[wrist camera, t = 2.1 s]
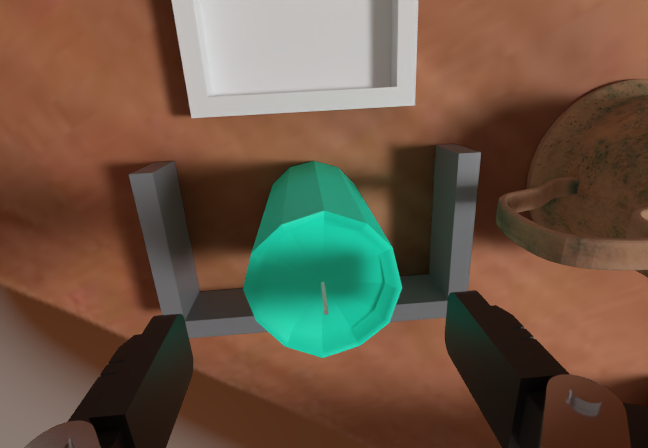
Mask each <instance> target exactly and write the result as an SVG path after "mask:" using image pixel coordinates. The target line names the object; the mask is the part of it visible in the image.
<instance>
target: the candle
mask: <svg viewBox="0 0 648 448" xmlns="http://www.w3.org/2000/svg"><path fill="white" fill-rule="evenodd" d="M401 290H402V284H401V280H400V276H399V272H398V268H397V263H396V259H395V255H394V251H393V247H392V246H391V244H390V242H389V241H388V239H387V237H386V236H385V234H384V232H383V231H382V229H381V227H380V226H379V224H378V222H377V221H376V219H375V217H374V216H373V214H372V212H371V211H370V209H369V207H368V206H367V204H366V202H365V201H364V199H363V198H362V196H361V194H360V193H359V191H358V189H357V188H356V186H355V184H354V183H353V182H352V181H351V180H350V179H349V178H348V177H347V176H346V175H345V174H344V173H343V172H342V171H341V170H340V169H339V168H338V167H335V166H331V165H328V164H324V163H320V162H316V161H312V162H308V163H304V164H300V165H296V166H293V167H290V168H289V169H288V170H287V171H286V172H285V173H284V174H283V175H282V176H281V177H280V178H279V179H278V180H277V181H276V182H275V183H274V184H273V185H272V188H271V191H270V194H269V198H268V201H267V204H266V207H265V211H264V214H263V217H262V220H261V224H260V227H259V230H258V233H257V236H256V240H255V243H254V246H253V249H252V253H251V257H250V261H249V265H248V269H247V274H246V278H245V282H244V286H243V291H244V293H245V296H246V298H247V300H248V303H249V305H250V308H251V310H252V312H253V315H254V317H255V320H256V321H257V322H258V323H259V324H260V325H261V326H262V327H263V328H265V329H266V330H267V331H268V332H269V333H270V334H271V335H273V336H274V337H275V338H276V339H277V340H278V341H279V342H281V343H282V344H283V345H284V346H286V347H289V348H292V349H295V350H299V351H302V352H305V353H308V354H312V355H315V356H318V357H321V358H324V357H327V356H330V355H333V354H336V353H339V352H342V351H345V350H348V349H352V348H355V347H358V346H360V345H362V344H363V343H364V342H365V341H367V340H368V339H369V338H370V337H372V336H373V335H374V334H376V333H377V332H378V331H379V330H381V329H382V328H383V327H385V326H386V325H387V324H388V323H389V322H390V320H391V317H392V314H393V311H394V309H395V306H396V303H397V301H398V298H399V295H400V292H401Z"/></svg>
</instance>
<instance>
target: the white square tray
mask: <svg viewBox="0 0 648 448" xmlns="http://www.w3.org/2000/svg"><path fill="white" fill-rule="evenodd" d="M171 1H172V6H173V12H174V18H175V24H176V30H177V36H178V42H179V48H180V53H181V59H182V65H183V71H184V77H185V83H186V89H187V95H188V100H189V106H190V112H191V118H202V117H220V116H238V115H255V114H273V113H290V112H308V111H325V110H343V109H360V108H378V107H395V106H413V105H415V87H416V56H417V25H418V0H171Z"/></svg>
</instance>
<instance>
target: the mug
mask: <svg viewBox="0 0 648 448" xmlns="http://www.w3.org/2000/svg"><path fill="white" fill-rule="evenodd" d="M528 210H529V212H530V215H531V217H532V220H533V221H531V220H529V219H527V218H525V217H523V216H522V215H520V214H518V212H523V211H528ZM496 224H497V226H498V228H499V229H500V230H501V231H502V232H503V233H504V234H505V235H506V236H507V237H508V238H510V239H511V240H512V241H514V242H515V243H516V244H518V245H519V246H521V247H522V248H524V249H526V250H527V251H529V252H531V253H533V254H534V255H536V256H538V257H541V258H543V259H546V260H548V261H552V262H555V263H559V264H563V265H568V266H573V267H579V268H587V269H598V270H635V271H637V272H639V273H641V274H643V275H645V276H646V277H648V79H635V80H626V81H620V82H616V83H612V84H609V85H606V86H603V87H601V88H599V89H597V90H594V91H592V92H591V93H589V94H587V95H585V96H584V97H582V98H581V99H579V100H578V101H576V102H575V103H574V104H573V105H571V106H570V107H569V108H568V109H567V110H565V111H564V112H563V113H562V114H561V115H560V116H559V117H558V119H557V120H556V121H555V122H554V123H553V124H552V126H551V127H550V128H549V129H548V131H547V132H546V134H545V135H544V137H543V138H542V140H541V142H540V144H539V146H538V147H537V149H536V152H535V154H534V156H533V159H532V162H531V165H530V168H529V173H528V178H527V189H525V190H520V191H514V192H510V193H507V194H504V195H502V196H501V197H500V198H499V200H498V207H497V214H496Z"/></svg>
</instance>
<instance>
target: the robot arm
mask: <svg viewBox="0 0 648 448" xmlns="http://www.w3.org/2000/svg"><path fill="white" fill-rule="evenodd" d="M445 343H446V348H447V351H448V354H449V356H450V358H451V360H452V361H453V363H454V365H455V367H456V368H457V370H458V372H459V373H460V375H461V377H462V379H463V380H464V382H465V384H466V386H467V387H468V389H469V391H470V393H471V394H472V396H473V398H474V399H475V401H476V403H477V405H478V406H479V408H480V410H481V412H482V413H483V415H484V417H485V419H486V420H487V422H488V424H489V425H490V427H491V429H492V431H493V432H494V434H495V436H496V438H497V439H498V441H499V443H500V445H501V446H502V448H648V407H646V406H640V405H633V404H627V403H622V402H621V401H620V399H619V398H618V397H617V396H616V395H615V394H614V393H612V392H611V391H610V390H608V389H607V388H605V387H604V386H602V385H600V384H599V383H597V382H595V381H592V380H590V379H587V378H584V377H581V376H576V375H570V374H569V373H568V372H567V371H566V370H565V369H564V368H563V367H562V366H561V365H560V364H559V363H558V362H557V361H556V360H555V359H554V357H553V356H552V355H551V354H550V353H549V352H548V351H547V350H546V349H545V348H544V347H543V346H542V345H541V344H540V343H539V342H538V341H537V340H536V339H534V338H533V336H532V335H531V334H530V333H529V332H528V331H527V329H524V326H523V325H522V324H521V323H520V322H519V321H518V320H517V319H516V318H515V317H514V316H513V315H512V314H510V313H508V312H507V311H505V310H503V309H501V308H500V307H498V306H496V305H495V306H490V305H489V304H488V302H487V301H486V300H485V299H484V298H483V297H482V296H481V295H480V294H479V293H478V292H477V291H475V290H474V291H462V292H451V293H450V294H449V296H448V301H447V313H446V326H445ZM192 372H193V355H192V351H191V346H190V341H189V337H188V332H187V328H186V323H185V319H184V317H183V315H182V314H171V315H159V316H154V317H153V318H152V319H151V320H150V322H149V324H148V325H147V327H146V328H145V330H144V331H143V333H142V334H140V335H134V336H133V337H131V338H130V339H129V340H128V341H127V342H125V343H124V344H123V345H122V346H120V347H119V348H118V350H117V351H116V353H115V354H114V355H113V357H112V358H111V360H110V361H109V365H107V366H106V367H105V368H104V370H103V371H102V373H101V376H100V377H98V379H97V380H96V381H95V383H94V384H93V386H92V387H91V389H90V390H89V392H88V393H87V394H86V396H85V398H84V399H83V400H82V402H81V403H80V405H79V406H78V407H77V409H76V410H75V412H74V413H73V415H72V416H71V418H70V419H69V420H68V422H66V423H63V424H60V425H57V426H55V427H53V428H51V429H49V430H47V431H45V432H43V433H42V434H40V435H39V436H37V437H36V438H35V439H33V440H32V441H31V442H30V443H29V444H28V445H27V446H26V447H24V448H166V446H167V443H168V440H169V438H170V435H171V432H172V429H173V427H174V424H175V421H176V418H177V415H178V413H179V410H180V408H181V405H182V402H183V399H184V397H185V394H186V391H187V389H188V386H189V383H190V380H191V377H192Z"/></svg>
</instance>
